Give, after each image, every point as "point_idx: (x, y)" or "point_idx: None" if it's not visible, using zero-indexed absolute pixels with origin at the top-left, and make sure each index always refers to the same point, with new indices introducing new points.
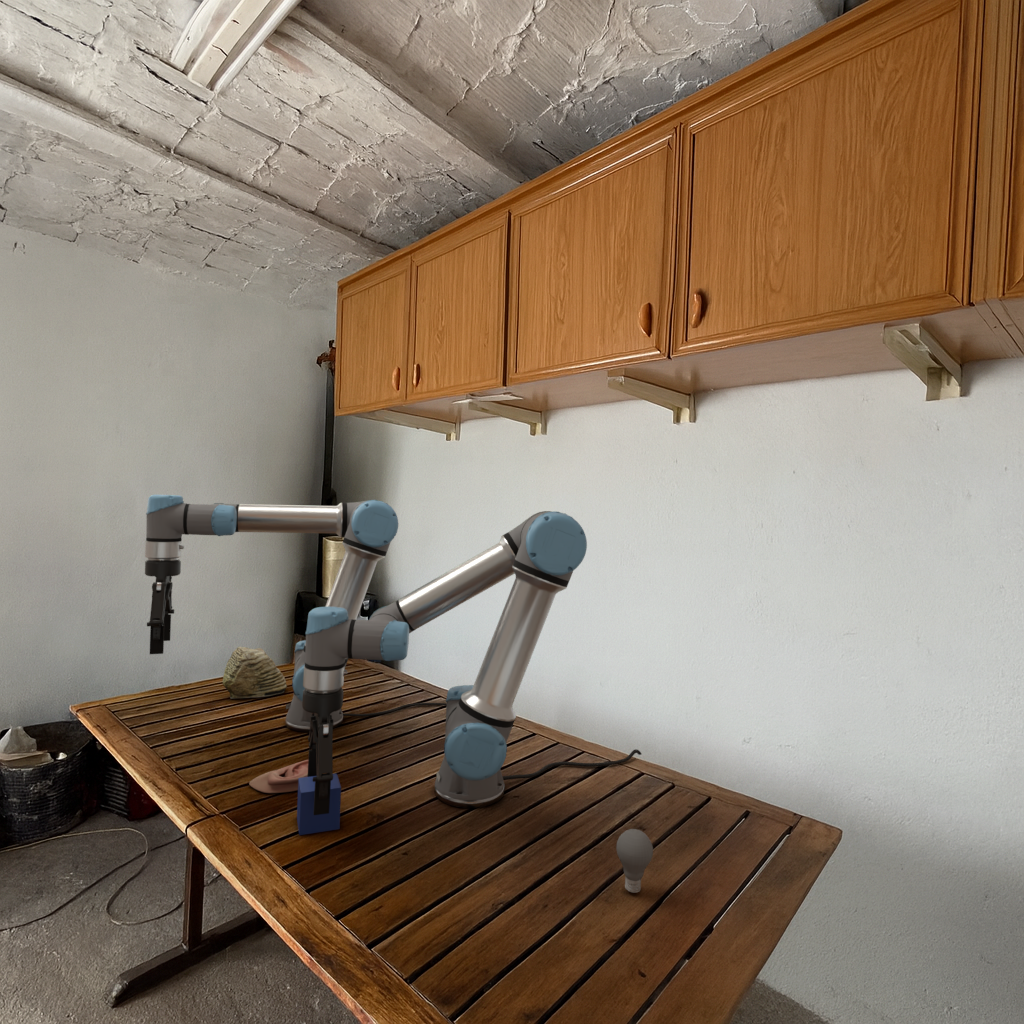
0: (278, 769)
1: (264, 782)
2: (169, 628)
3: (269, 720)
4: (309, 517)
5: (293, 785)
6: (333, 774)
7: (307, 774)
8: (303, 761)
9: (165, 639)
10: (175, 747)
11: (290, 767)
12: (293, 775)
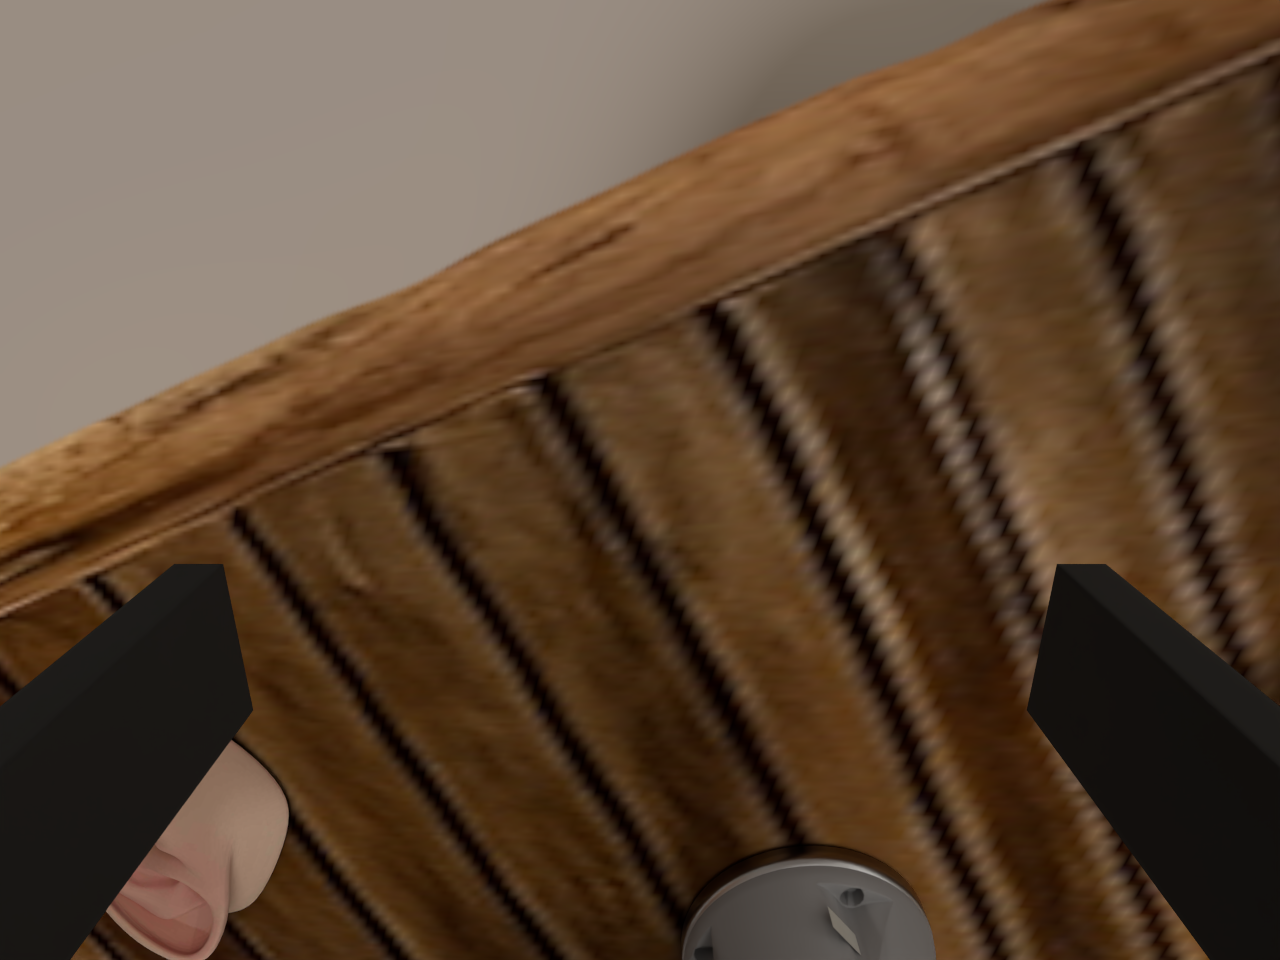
0: (197, 831)
1: None
2: (1138, 848)
3: (906, 788)
4: None
5: None
6: None
7: (111, 916)
8: (214, 918)
9: (1044, 672)
10: (676, 421)
11: (185, 872)
12: (148, 868)
